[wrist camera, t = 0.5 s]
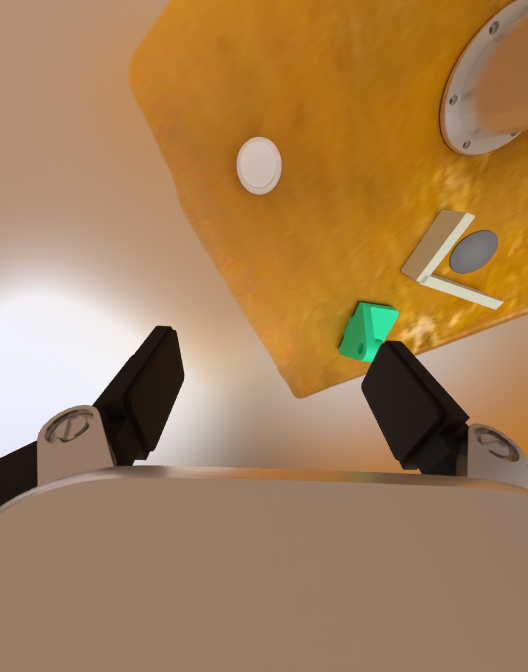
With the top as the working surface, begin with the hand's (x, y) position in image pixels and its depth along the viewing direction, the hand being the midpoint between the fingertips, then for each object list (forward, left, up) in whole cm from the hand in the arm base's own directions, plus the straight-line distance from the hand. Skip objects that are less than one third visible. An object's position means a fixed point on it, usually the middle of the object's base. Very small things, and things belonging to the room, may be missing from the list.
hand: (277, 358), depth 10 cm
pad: (-8, +34, -31) cm, 47 cm away
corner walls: (-6, +33, -31) cm, 46 cm away
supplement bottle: (-8, -4, -31) cm, 32 cm away
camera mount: (+11, +25, -32) cm, 42 cm away
